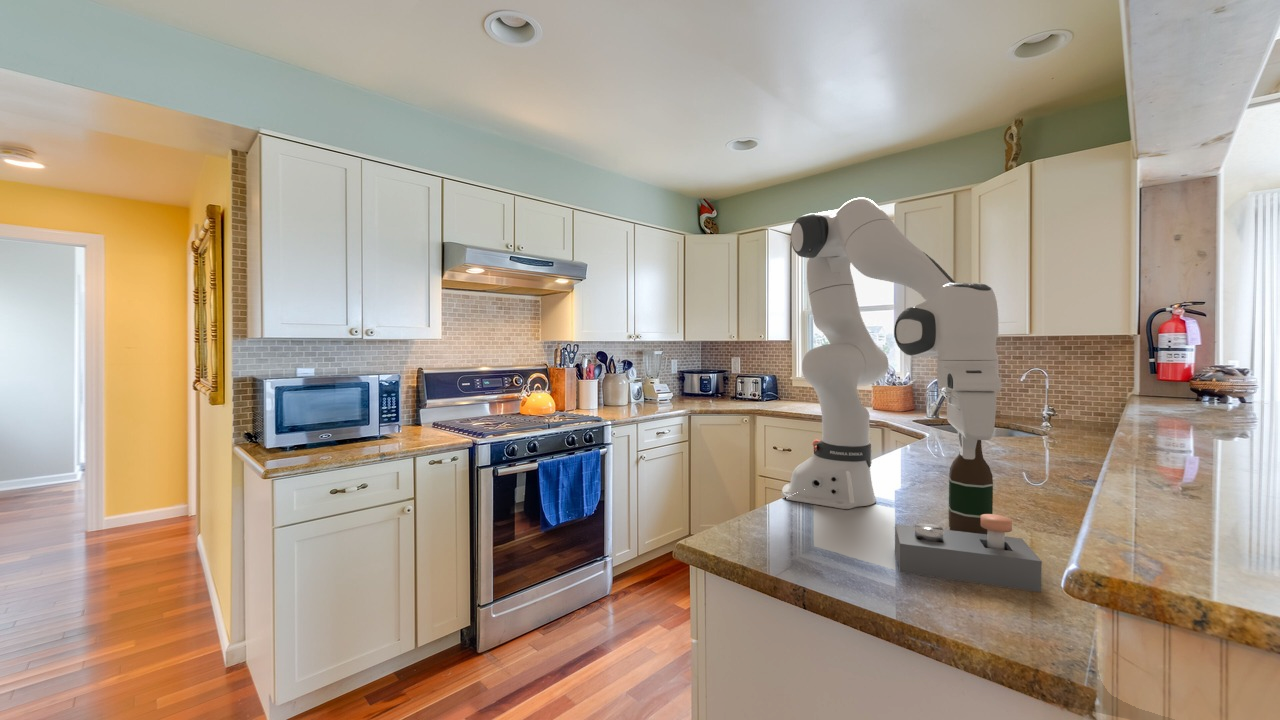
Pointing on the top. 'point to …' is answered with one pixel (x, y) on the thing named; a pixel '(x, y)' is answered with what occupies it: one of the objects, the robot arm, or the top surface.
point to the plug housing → (969, 559)
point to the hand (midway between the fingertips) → (967, 457)
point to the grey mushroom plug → (929, 532)
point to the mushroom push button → (996, 529)
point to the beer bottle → (970, 492)
